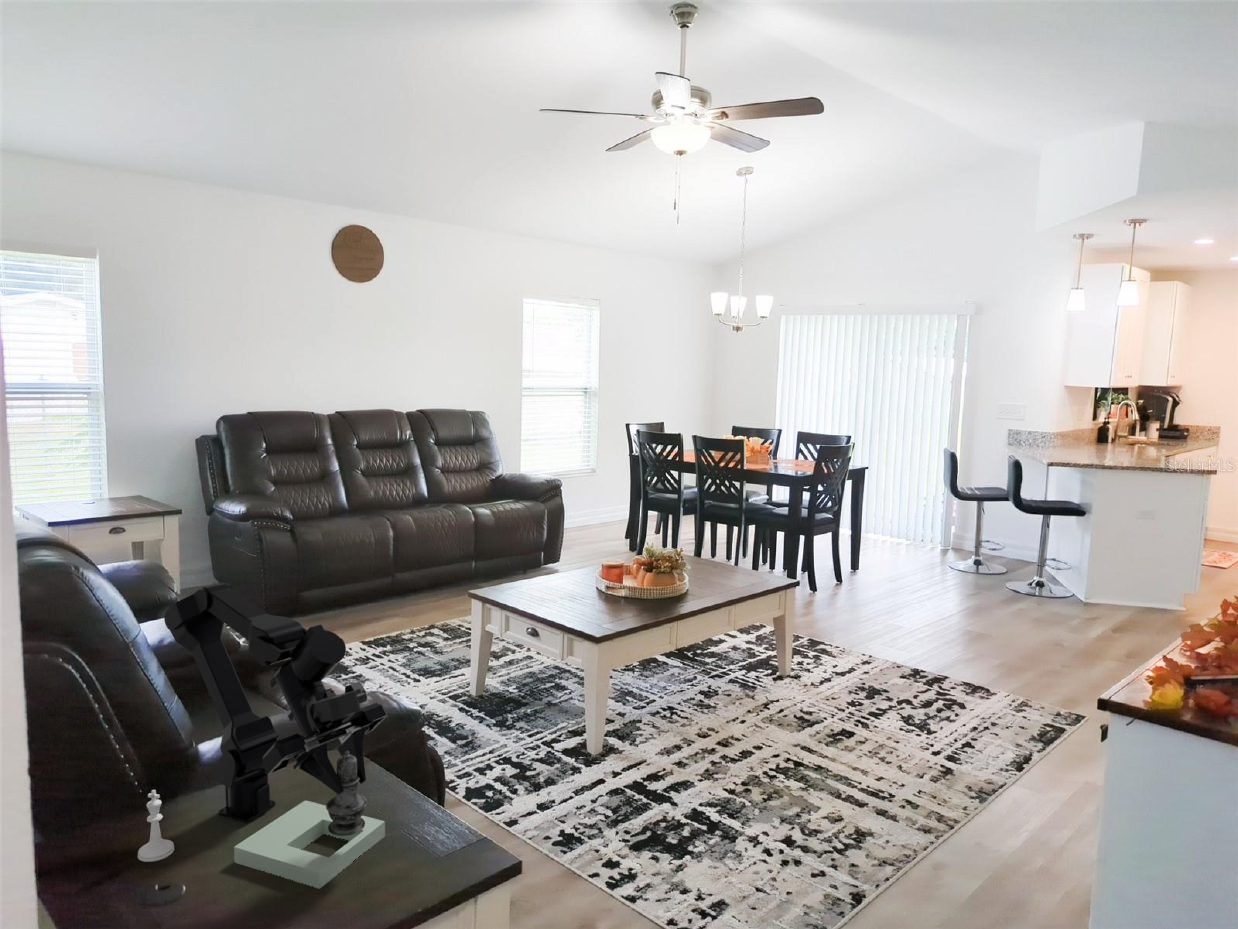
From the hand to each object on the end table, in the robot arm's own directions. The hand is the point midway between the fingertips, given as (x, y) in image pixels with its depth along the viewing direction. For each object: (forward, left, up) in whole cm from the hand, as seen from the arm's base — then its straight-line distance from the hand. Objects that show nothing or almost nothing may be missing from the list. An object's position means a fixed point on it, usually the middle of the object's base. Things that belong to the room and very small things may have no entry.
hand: (352, 787), depth 125 cm
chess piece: (-30, -9, -13) cm, 34 cm away
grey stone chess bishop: (-2, 0, -7) cm, 7 cm away
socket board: (-9, +2, -13) cm, 16 cm away
